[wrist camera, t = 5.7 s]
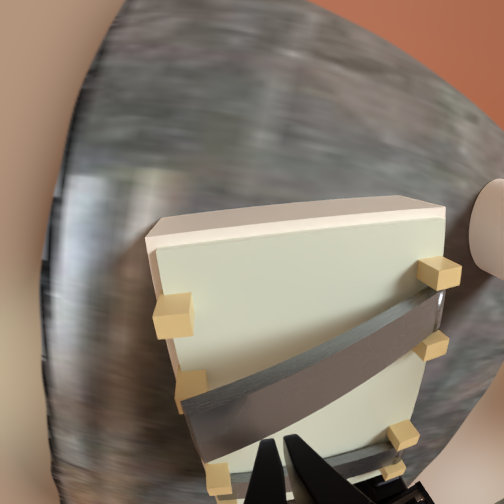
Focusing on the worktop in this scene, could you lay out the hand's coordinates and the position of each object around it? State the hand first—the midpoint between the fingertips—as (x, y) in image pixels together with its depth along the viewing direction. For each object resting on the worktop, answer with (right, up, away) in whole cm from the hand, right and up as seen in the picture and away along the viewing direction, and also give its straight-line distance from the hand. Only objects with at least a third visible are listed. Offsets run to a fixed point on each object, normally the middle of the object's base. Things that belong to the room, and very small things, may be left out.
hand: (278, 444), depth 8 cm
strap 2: (+3, -9, +10) cm, 14 cm away
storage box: (+2, -2, +14) cm, 14 cm away
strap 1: (+3, +2, +4) cm, 5 cm away
